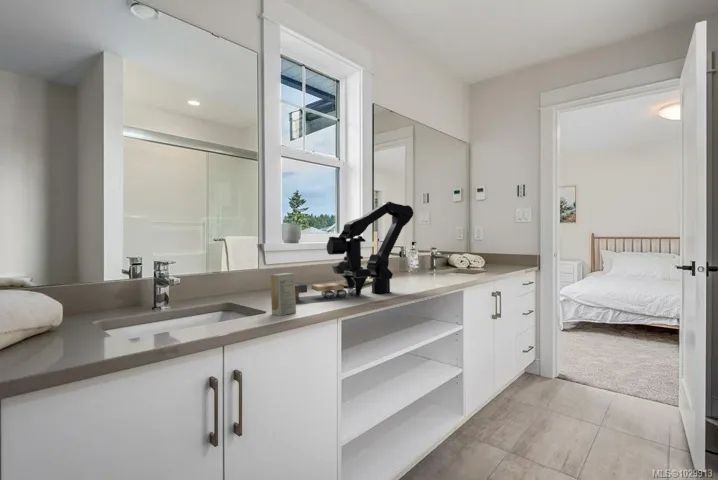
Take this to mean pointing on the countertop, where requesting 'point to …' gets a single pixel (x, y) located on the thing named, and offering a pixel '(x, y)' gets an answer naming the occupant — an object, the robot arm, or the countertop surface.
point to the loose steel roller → (353, 291)
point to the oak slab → (327, 287)
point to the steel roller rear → (340, 293)
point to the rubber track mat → (323, 299)
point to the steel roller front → (328, 294)
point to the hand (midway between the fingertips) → (354, 293)
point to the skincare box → (283, 294)
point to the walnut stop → (299, 290)
